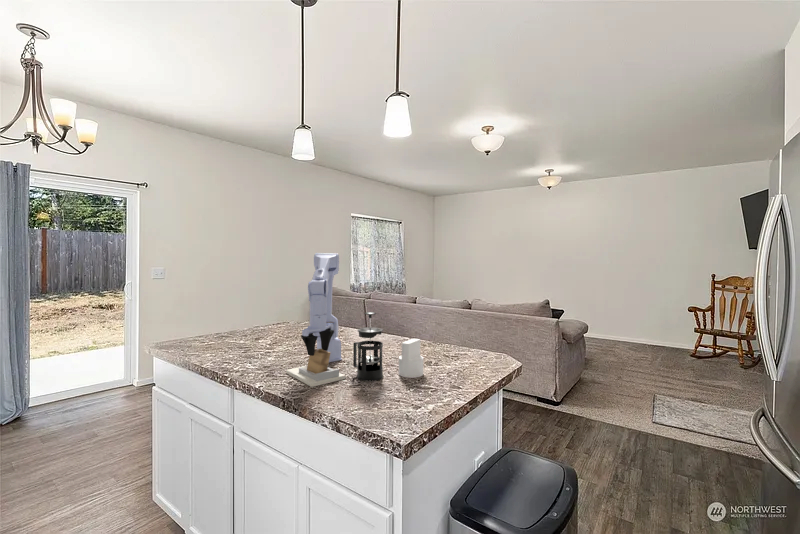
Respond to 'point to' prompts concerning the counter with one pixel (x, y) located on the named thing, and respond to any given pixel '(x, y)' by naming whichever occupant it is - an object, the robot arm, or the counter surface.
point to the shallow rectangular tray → (315, 376)
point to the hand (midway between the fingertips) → (318, 352)
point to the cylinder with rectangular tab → (411, 359)
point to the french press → (370, 365)
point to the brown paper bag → (318, 361)
